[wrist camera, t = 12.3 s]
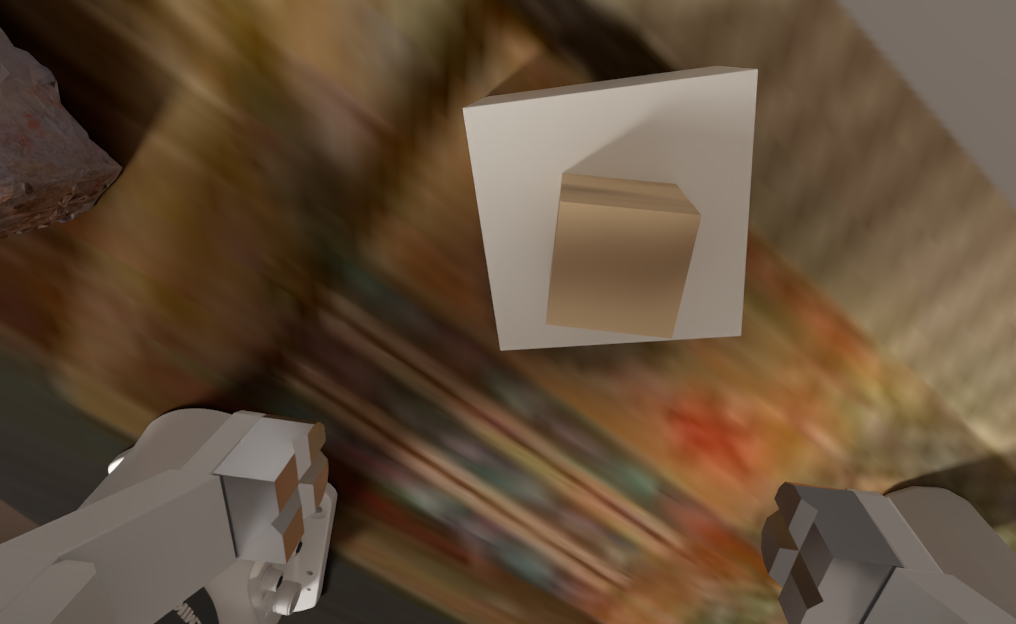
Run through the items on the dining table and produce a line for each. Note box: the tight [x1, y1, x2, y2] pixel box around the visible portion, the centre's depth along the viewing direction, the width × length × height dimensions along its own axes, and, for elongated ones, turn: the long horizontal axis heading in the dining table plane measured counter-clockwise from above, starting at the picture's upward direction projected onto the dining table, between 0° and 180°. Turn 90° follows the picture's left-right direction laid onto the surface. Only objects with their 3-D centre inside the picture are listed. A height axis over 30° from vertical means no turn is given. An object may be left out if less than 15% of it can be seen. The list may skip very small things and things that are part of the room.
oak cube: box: [546, 173, 702, 338], centre depth 22 cm, size 5×5×5 cm
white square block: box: [463, 66, 758, 351], centre depth 28 cm, size 12×12×7 cm
